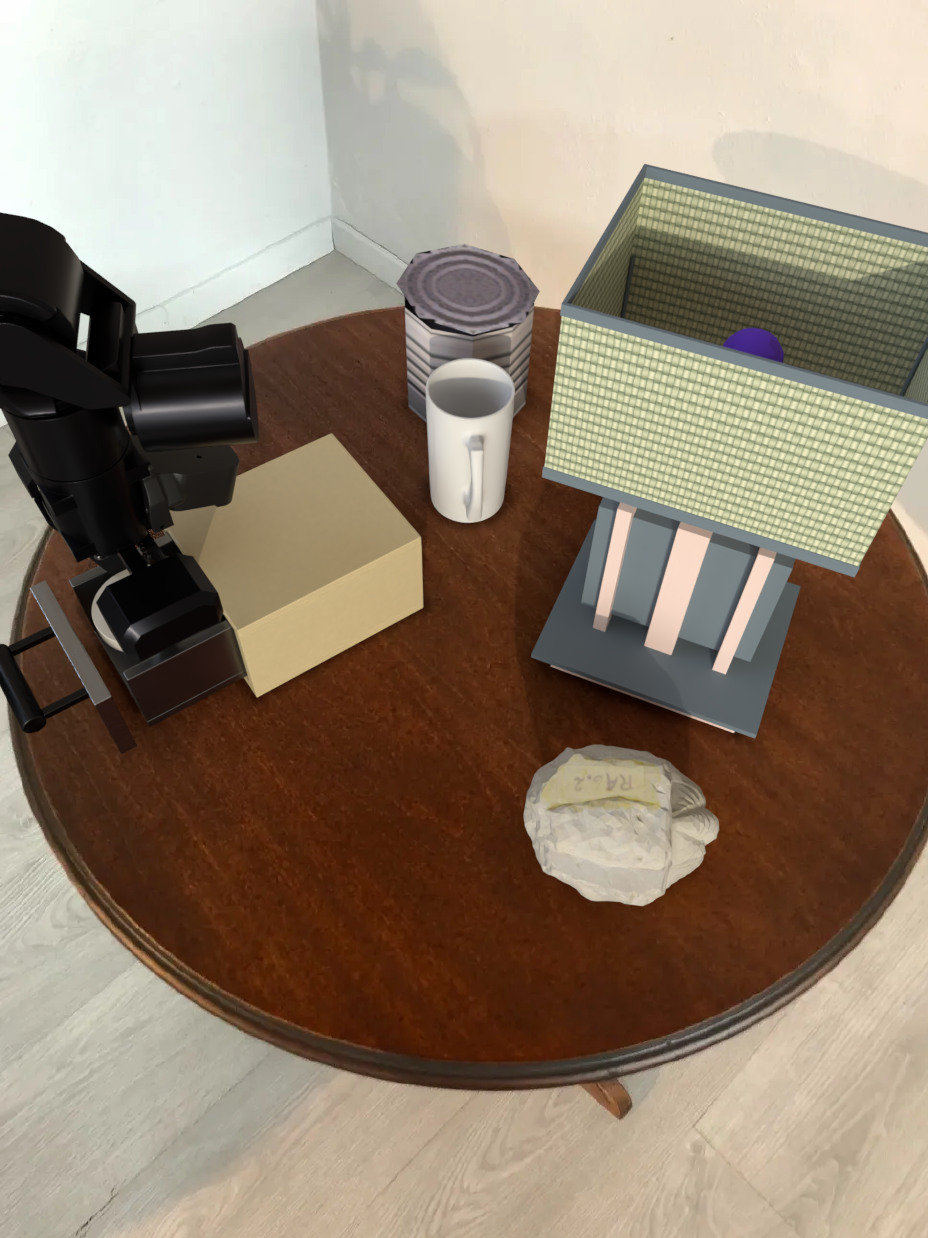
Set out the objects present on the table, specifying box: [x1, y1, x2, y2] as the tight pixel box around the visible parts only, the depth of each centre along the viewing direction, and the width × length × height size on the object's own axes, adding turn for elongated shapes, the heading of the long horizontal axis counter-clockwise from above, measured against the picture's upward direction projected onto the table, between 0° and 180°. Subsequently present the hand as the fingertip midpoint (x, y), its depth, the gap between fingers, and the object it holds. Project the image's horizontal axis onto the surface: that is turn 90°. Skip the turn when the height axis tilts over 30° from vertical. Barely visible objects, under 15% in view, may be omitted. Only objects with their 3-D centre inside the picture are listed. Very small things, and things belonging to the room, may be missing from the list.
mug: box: [426, 358, 515, 524], centre depth 80 cm, size 10×7×12 cm, turn 5°
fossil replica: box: [523, 743, 720, 907], centre depth 65 cm, size 12×8×10 cm
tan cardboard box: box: [162, 432, 424, 698], centre depth 76 cm, size 15×13×9 cm
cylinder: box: [92, 565, 150, 652], centre depth 70 cm, size 7×7×2 cm
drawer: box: [0, 533, 248, 755], centre depth 72 cm, size 18×11×7 cm, turn 125°
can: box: [395, 243, 540, 424], centre depth 89 cm, size 11×11×12 cm
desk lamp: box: [530, 163, 928, 739], centre depth 65 cm, size 18×14×33 cm
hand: (143, 608), depth 70 cm, fingers closed on cylinder, 7 cm apart
